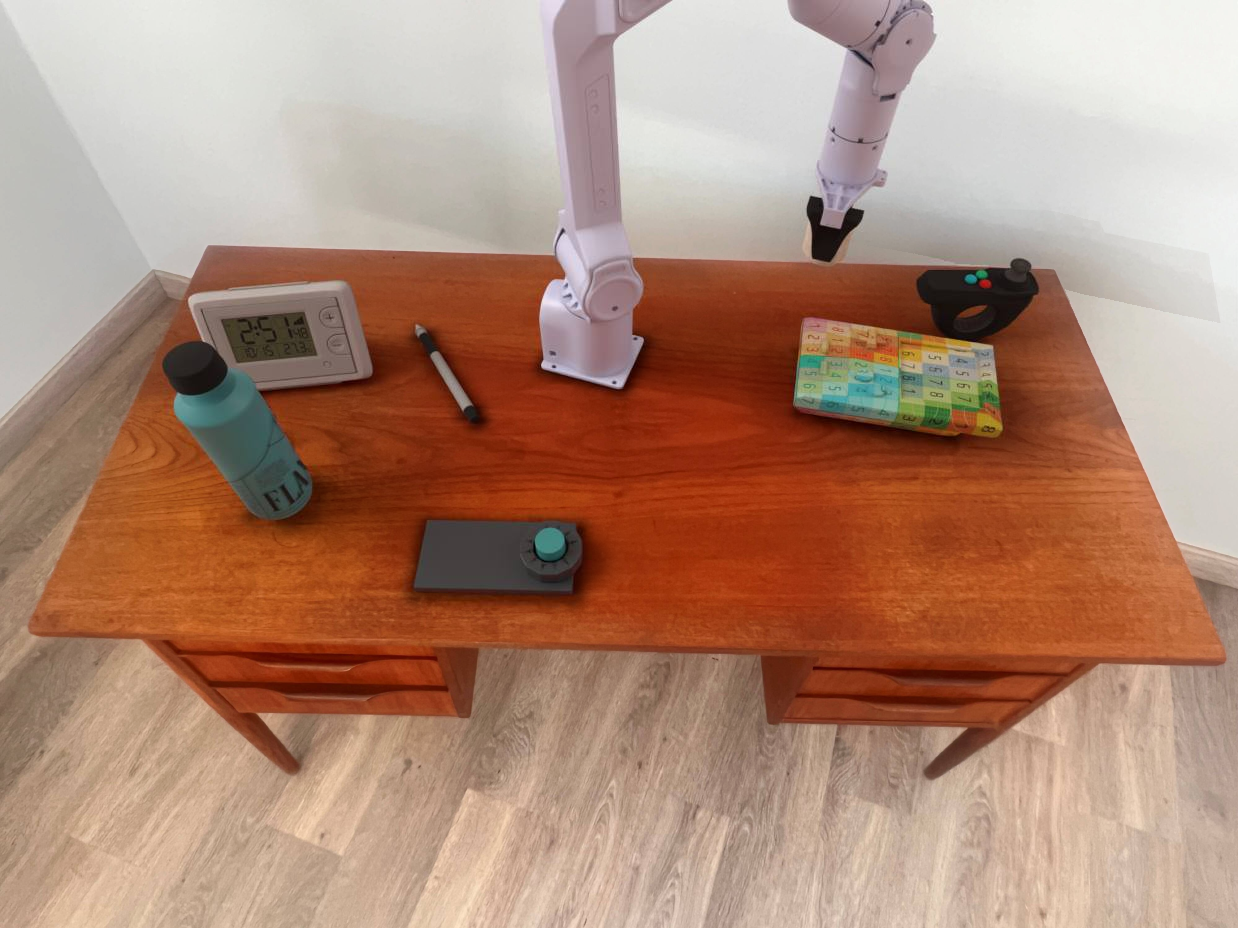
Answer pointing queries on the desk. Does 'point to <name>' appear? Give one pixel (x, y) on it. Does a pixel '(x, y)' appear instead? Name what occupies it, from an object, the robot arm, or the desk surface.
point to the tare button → (550, 544)
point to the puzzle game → (897, 379)
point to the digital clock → (286, 332)
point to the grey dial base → (495, 558)
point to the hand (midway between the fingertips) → (825, 244)
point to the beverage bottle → (237, 431)
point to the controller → (977, 298)
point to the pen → (447, 374)
